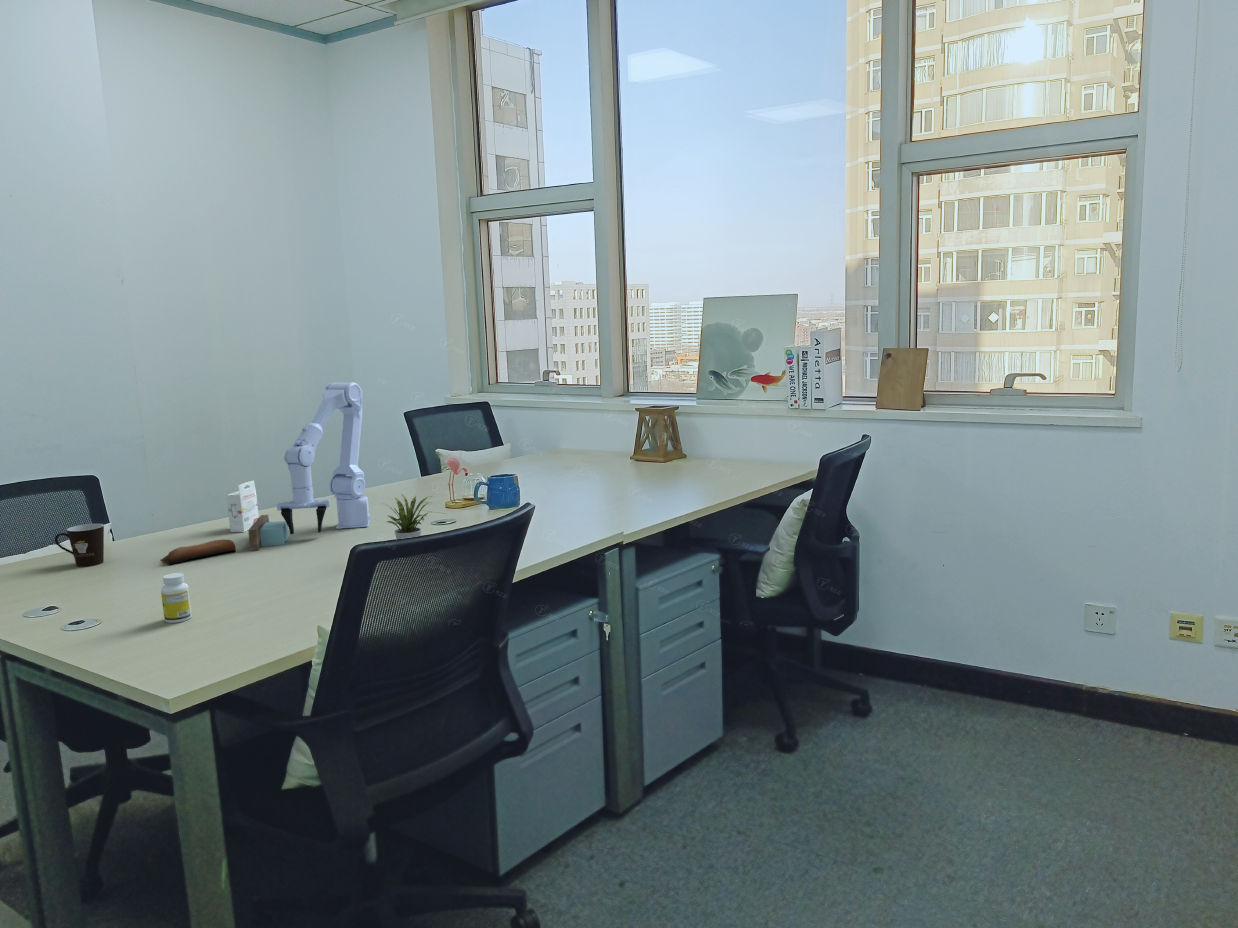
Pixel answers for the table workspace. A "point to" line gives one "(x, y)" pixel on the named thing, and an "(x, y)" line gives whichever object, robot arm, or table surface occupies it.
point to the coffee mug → (86, 544)
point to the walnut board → (257, 532)
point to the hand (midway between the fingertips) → (306, 532)
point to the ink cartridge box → (242, 508)
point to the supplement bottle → (176, 598)
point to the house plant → (407, 519)
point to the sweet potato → (198, 551)
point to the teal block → (274, 533)
